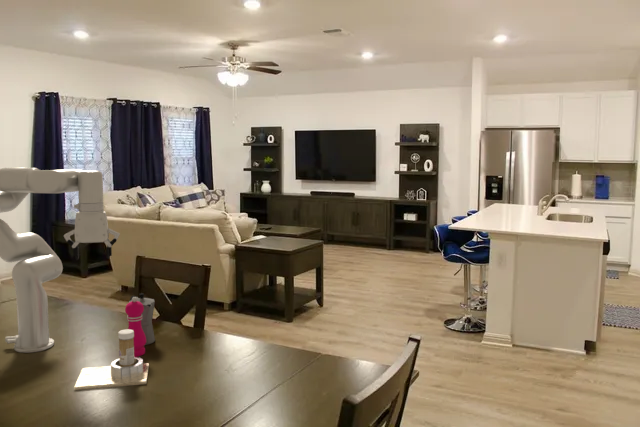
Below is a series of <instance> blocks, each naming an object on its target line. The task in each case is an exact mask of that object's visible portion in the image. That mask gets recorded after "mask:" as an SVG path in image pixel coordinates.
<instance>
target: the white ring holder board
mask: <svg viewBox="0 0 640 427" xmlns="http://www.w3.org/2000/svg"><path fill="white" fill-rule="evenodd" d="M149 367H150V363H149V362H146V363H145V362H144V359H143V358H141V357H140V356H138V357H134V365H132V366H128V367H120V363H119V358H116V359H115V360H113V361H111V364H110V365H107V366H106V365H104V366H93V367H83V368H82V369H81V370H80V373H79V376H78V377H77V380H76V382H75V385H74V387H73V388H74V391H81V390H91V389H105V388H116V387H127V386H139V385H147V381H148V374H149Z"/></svg>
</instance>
